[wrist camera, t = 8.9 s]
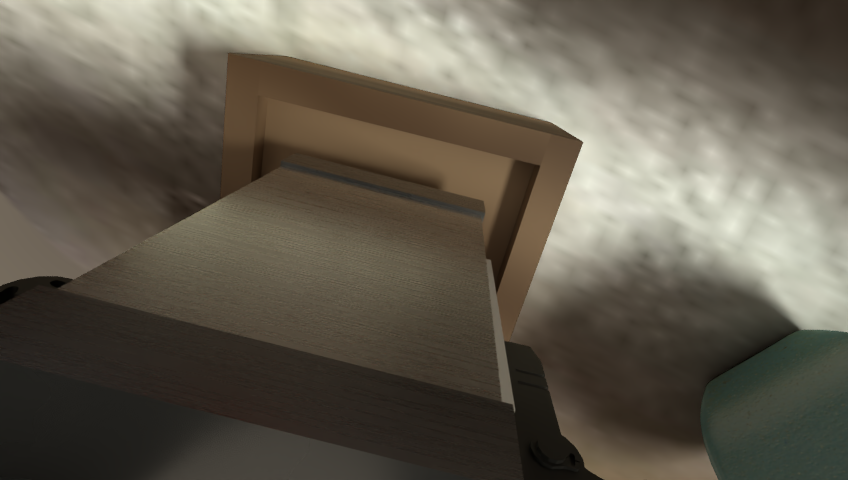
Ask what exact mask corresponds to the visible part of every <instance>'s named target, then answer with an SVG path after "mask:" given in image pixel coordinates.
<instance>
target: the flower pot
mask: <svg viewBox="0 0 848 480" xmlns="http://www.w3.org/2000/svg"><path fill="white" fill-rule="evenodd" d="M700 420H701V430H702V435H703V440H704V444H705V447H706V451H707V453H708V456H709V459H710V462H711V464H712V467H713V469H714V471H715V473H716V475H717V478H718V480H848V333H847V332H839V331H828V330H800V331H797V332H794V333H792V334H790V335H788V336H787V337H785V338H783V339H782V340H780V341H778V342H777V343H775V344H773V345H772V346H770V347H768V348H767V349H765V350H763V351H761V352H760V353H758V354H756V355H755V356H753V357H751V358H750V359H748V360H746V361H744V362H743V363H741V364H739V365H737V366H736V367H734V368H732V369H730V370H729V371H727V372H725V373H723V374H722V375H720V376H718V377H717V378H715V379H713V380H712V381H710V382H709V383H708V384H707V386H706V388H705V392H704V395H703V399H702V404H701V416H700Z"/></svg>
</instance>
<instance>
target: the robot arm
mask: <svg viewBox="0 0 848 480" xmlns="http://www.w3.org/2000/svg"><path fill="white" fill-rule="evenodd" d="M486 263H487V272H488V281H489V290H490V299H491V308H492V317H493V326H494V335H495V344H496V353H497V362H498V371H499V380H500V389H501V398H502V402H505V403H509V404H513V408H514V415H515V422H516V429H517V436H518V443H519V450H520V457H521V464H522V471H523V478H524V480H603V479H601V478H600V477H598V476H596V475H595V474H593V473H591V472H590V471H588V470H587V469H586V468H585V467H584V462H583V459H582V457H581V455H580V454H579V452H578V450H577V449H576V447H575V446H574V445H573V444H572V443H570V442H569V441H568V440H567V439H566V438H565V437H564V436H562V435H561V433H560V429H559V425H558V422H557V418H556V415H555V411H554V407H553V404H552V400H551V396H550V393H549V391H548V386H547V382H546V379H545V378H544V377H545V375H544V371H543V367H542V364H541V361H540V359H539V358H538V357H537V356H536V354H535V353H534V352H533V350H532V349H531V348H530V347H529V346H524V345H520V344H516V343H512V342H508V341H504V338H503V332H502V326H501V319H500V313H499V307H498V301H497V295H496V289H495V283H494V277H493V270H492V264H491V260H488V259H486ZM72 280H73V279H69V278H63V277H58V276H54V277H53V276H52V277H51V276H50V277H49V276H47V277H45V276H43V277H33V278H27V279H20V280H17V281H14V282H10V283H7V284H5V285H2V286H0V305H1V304H3V303H5V302H7V301H9V300H11V299H13V298H14V297H16V296H18V295H20V294H22V293H24V292H26V291H28V290H30V289H32V288H34V287H36V286H38V285H42V286H46V287H50V288H54V289H58V288H59V287H61V286H63V285H65V284H67V283H69V282H70V281H72Z"/></svg>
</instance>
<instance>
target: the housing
mask: <svg viewBox="0 0 848 480" xmlns="http://www.w3.org/2000/svg"><path fill="white" fill-rule="evenodd" d="M484 216H485V206H484V201H482V200H478V199H474V198H470V197H466V196H462V195H459V194H455V193H451V192H447V191H443V190H439V189H435V188H431V187H427V186H423V185H420V184H416V183H412V182H408V181H404V180H400V179H396V178H392V177H388V176H384V175H381V174H377V173H373V172H369V171H365V170H361V169H357V168H353V167H349V166H345V165H342V164H338V163H334V162H330V161H326V160H322V159H318V158H314V157H310V156H306V155H303V154H299V153H295V154H293V155H291V156H289V157H287V158H285V159H283V160H281V165H280V167H279V168H277V169H276V170H274V171H272V172H270V173H268V174H266V175H265V176H263V177H261V178H259V179H257V180H255V181H254V182H252V183H250V184H248V185H246V186H244V187H243V188H241V189H239V190H237V191H235V192H233V193H232V194H230V195H228V196H226V197H224V198H222V199H221V200H219V201H217V202H215V203H213V204H211V205H210V206H208V207H206V208H204V209H202V210H200V211H199V212H197V213H195V214H193V215H191V216H189V217H188V218H186V219H184V220H182V221H180V222H178V223H177V224H175V225H173V226H171V227H169V228H167V229H166V230H164V231H162V232H160V233H158V234H156V235H155V236H153V237H151V238H149V239H147V240H146V241H144V242H142V243H140V244H138V245H136V246H135V247H133V248H131V249H129V250H127V251H125V252H124V253H122V254H120V255H118V256H116V257H114V258H113V259H111V260H109V261H107V262H105V263H103V264H102V265H100V266H98V267H96V268H94V269H92V270H91V271H89V272H87V273H85V274H83V275H81V276H80V277H78V278H76V279H74V280H72V281H70V282H69V283H67V284H65V285H63V286H61V287H59V288H58V289H54V288H50V287H46V286H42V285H38V286H36V287H34V288H32V289H30V290H28V291H26V292H24V293H22V294H20V295H18V296H16V297H14V298H13V299H11V300H9V301H7V302H5V303H3V304H1V305H0V480H524V478H523V471H522V464H521V457H520V450H519V443H518V436H517V429H516V422H515V415H514V408H513V404H509V403H505V402H502V398H501V389H500V380H499V371H498V362H497V353H496V344H495V335H494V326H493V317H492V308H491V299H490V290H489V281H488V272H487V263H486V254H485V245H484V236H483V227H482V223H483V220H484Z"/></svg>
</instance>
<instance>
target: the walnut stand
mask: <svg viewBox="0 0 848 480" xmlns="http://www.w3.org/2000/svg"><path fill="white" fill-rule="evenodd" d="M582 144H583V142H582V141H581V140H579V139H577V138H576V137H574V136H572V135H571V134H569V133H567V132H566V131H564V130H563V129H561V128H559V127H558V126H556V125H554V124H553V123H550V122H546V121H542V120H538V119H534V118H530V117H526V116H522V115H518V114H514V113H510V112H506V111H502V110H498V109H494V108H490V107H486V106H482V105H478V104H475V103H471V102H467V101H463V100H459V99H455V98H451V97H447V96H443V95H439V94H435V93H431V92H427V91H423V90H419V89H415V88H411V87H407V86H403V85H399V84H395V83H391V82H387V81H383V80H379V79H375V78H371V77H367V76H363V75H359V74H355V73H351V72H347V71H343V70H339V69H335V68H331V67H327V66H323V65H319V64H315V63H311V62H307V61H304V60H300V59H296V58H292V57H288V56H274V55H256V54H239V53H228V64H227V82H226V100H225V118H224V137H223V155H222V173H221V191H220V200H221V199H222V198H224V197H226V196H228V195H230V194H232V193H233V192H235V191H237V190H239V189H241V188H243V187H244V186H246V185H248V184H250V183H252V182H254V181H255V180H257V179H259V178H261V177H263V176H265V175H266V174H268V173H270V172H272V171H274V170H276V169H277V168H279V167H280V165H281V160H283V159H285V158H287V157H289V156H291V155H293V154H295V153H299V154H303V155H306V156H310V157H314V158H318V159H322V160H326V161H330V162H334V163H338V164H342V165H345V166H349V167H353V168H357V169H361V170H365V171H369V172H373V173H377V174H381V175H384V176H388V177H392V178H396V179H400V180H404V181H408V182H412V183H416V184H420V185H423V186H427V187H431V188H435V189H439V190H443V191H447V192H451V193H455V194H459V195H462V196H466V197H470V198H474V199H478V200H482V201H484V206H485V216H484V220H483V223H482V227H483V236H484V245H485V254H486V259H488V260H491V264H492V270H493V277H494V283H495V289H496V295H497V301H498V307H499V313H500V319H501V326H502V332H503V338H504V341H508V342H509V341H510V338H511V335H512V333H513V330H514V327H515V324H516V322H517V319H518V316H519V314H520V311H521V308H522V306H523V303H524V300H525V298H526V295H527V292H528V289H529V287H530V284H531V281H532V279H533V276H534V273H535V271H536V268H537V265H538V262H539V260H540V257H541V254H542V252H543V249H544V246H545V244H546V241H547V238H548V236H549V233H550V230H551V227H552V225H553V222H554V219H555V217H556V214H557V211H558V209H559V206H560V203H561V200H562V198H563V195H564V192H565V190H566V187H567V184H568V182H569V179H570V176H571V174H572V171H573V168H574V165H575V163H576V160H577V157H578V155H579V152H580V149H581V147H582Z"/></svg>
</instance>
